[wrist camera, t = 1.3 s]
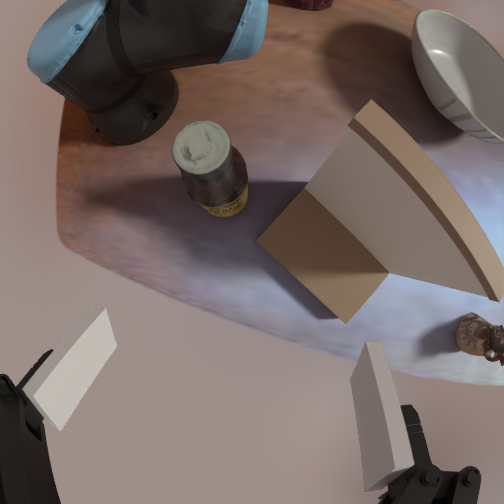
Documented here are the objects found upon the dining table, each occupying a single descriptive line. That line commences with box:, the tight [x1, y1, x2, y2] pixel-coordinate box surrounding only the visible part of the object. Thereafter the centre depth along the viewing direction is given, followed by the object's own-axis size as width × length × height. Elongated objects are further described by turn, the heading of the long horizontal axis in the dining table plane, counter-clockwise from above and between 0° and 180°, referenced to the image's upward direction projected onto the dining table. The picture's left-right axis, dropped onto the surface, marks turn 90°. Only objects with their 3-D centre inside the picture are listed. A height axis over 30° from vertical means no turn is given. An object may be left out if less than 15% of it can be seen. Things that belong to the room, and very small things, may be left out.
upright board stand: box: [256, 99, 504, 324], centre depth 25 cm, size 17×11×23 cm, turn 48°
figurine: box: [456, 312, 504, 366], centre depth 30 cm, size 7×7×12 cm
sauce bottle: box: [172, 121, 248, 217], centre depth 27 cm, size 6×6×20 cm
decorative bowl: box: [411, 9, 504, 145], centre depth 29 cm, size 27×27×12 cm
